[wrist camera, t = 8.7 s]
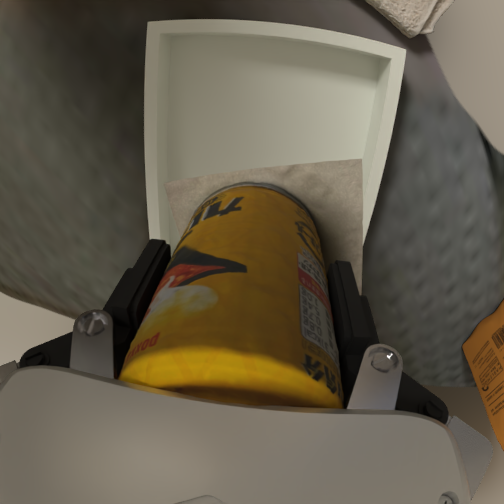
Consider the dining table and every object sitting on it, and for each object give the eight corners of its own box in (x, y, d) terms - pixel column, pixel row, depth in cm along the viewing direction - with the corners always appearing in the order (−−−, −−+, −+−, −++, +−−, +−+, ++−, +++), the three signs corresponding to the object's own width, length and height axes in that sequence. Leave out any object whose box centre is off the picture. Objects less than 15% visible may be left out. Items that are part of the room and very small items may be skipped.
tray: (163, 25, 20) (147, 21, 17) (390, 50, 20) (406, 49, 17) (164, 255, 32) (153, 275, 29) (340, 275, 32) (345, 298, 29)
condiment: (164, 181, 14) (-3, 438, 4) (361, 157, 12) (521, 449, 2) (203, 306, 18) (149, 526, 8) (360, 293, 16) (403, 527, 6)
